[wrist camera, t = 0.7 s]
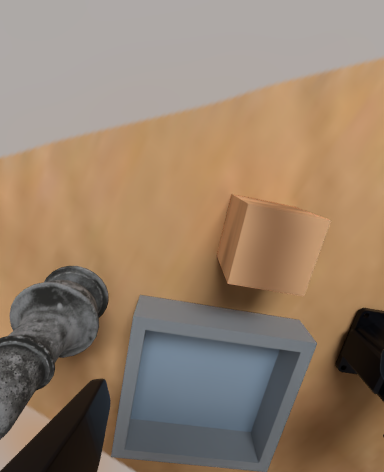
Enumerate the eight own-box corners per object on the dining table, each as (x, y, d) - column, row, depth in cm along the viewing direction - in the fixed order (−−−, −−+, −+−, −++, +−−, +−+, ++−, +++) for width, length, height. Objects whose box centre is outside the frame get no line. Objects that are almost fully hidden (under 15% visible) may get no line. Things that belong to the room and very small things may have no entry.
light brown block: (294, 206, 19) (331, 220, 14) (275, 265, 21) (304, 296, 16) (231, 193, 19) (248, 203, 14) (216, 255, 20) (227, 283, 15)
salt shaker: (72, 338, 22) (-54, 538, 10) (22, 287, 20) (-191, 453, 9) (126, 303, 21) (59, 475, 9) (79, 248, 19) (-70, 370, 8)
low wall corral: (299, 319, 22) (317, 343, 19) (257, 437, 26) (266, 471, 23) (140, 294, 21) (133, 315, 18) (119, 422, 24) (111, 457, 21)
